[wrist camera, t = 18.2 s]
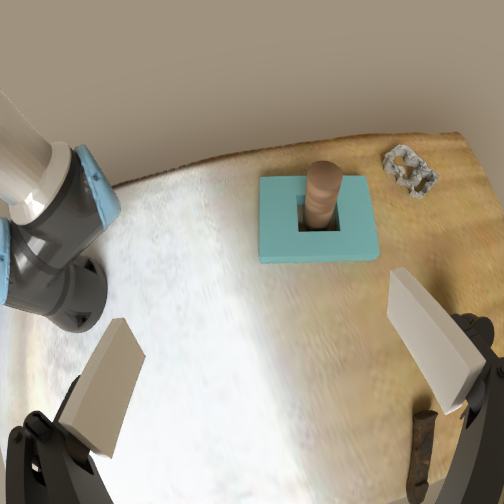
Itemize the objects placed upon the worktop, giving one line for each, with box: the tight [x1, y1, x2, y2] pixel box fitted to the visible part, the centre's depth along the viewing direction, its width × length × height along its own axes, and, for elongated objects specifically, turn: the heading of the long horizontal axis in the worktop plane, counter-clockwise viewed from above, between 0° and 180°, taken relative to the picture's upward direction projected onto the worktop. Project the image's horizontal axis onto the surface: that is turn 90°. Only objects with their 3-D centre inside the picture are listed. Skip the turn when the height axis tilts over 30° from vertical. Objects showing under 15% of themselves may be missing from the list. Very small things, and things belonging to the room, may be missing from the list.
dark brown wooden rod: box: [406, 410, 438, 504], centre depth 26 cm, size 19×4×5 cm, turn 179°
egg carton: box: [382, 144, 439, 199], centre depth 43 cm, size 11×8×4 cm
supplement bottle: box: [460, 313, 495, 347], centre depth 29 cm, size 7×7×12 cm
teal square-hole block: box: [259, 175, 380, 264], centre depth 42 cm, size 18×14×3 cm
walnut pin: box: [303, 161, 343, 232], centre depth 38 cm, size 4×4×13 cm
